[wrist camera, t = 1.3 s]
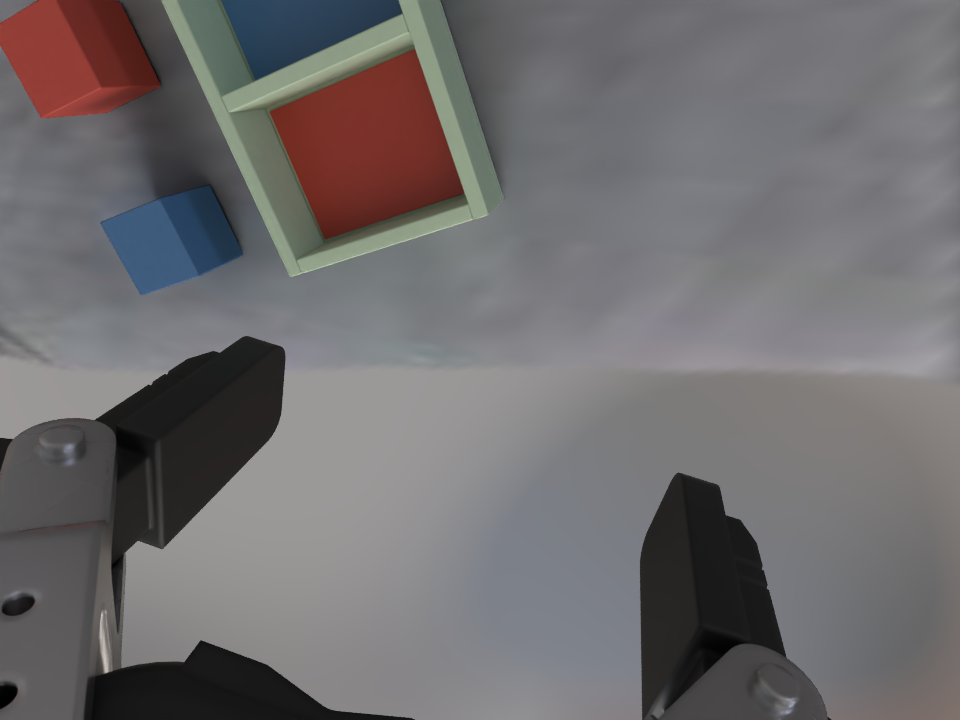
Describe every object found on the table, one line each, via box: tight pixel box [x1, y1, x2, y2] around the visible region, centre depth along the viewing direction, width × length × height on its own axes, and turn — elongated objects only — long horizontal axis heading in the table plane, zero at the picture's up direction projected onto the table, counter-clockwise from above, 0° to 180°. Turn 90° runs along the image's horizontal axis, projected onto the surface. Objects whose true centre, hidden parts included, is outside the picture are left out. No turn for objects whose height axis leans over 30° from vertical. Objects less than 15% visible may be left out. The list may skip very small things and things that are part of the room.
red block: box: [0, 0, 161, 118], centre depth 32 cm, size 4×4×4 cm
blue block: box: [100, 185, 243, 295], centre depth 35 cm, size 4×4×4 cm
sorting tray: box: [161, 0, 504, 277], centre depth 30 cm, size 18×12×4 cm, turn 20°
